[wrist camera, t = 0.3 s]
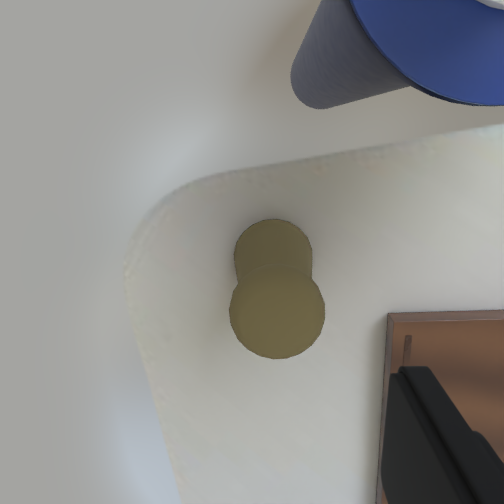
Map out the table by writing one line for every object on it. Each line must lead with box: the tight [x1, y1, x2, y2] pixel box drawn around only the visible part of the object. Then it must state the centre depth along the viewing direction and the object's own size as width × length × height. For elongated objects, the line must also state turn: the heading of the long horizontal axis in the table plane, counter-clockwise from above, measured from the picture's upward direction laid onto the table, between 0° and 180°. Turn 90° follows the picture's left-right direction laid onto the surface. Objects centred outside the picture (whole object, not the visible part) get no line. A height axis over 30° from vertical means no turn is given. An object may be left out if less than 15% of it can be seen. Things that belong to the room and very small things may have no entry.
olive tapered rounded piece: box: [229, 219, 325, 359], centre depth 25 cm, size 6×6×11 cm
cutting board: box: [376, 310, 504, 504], centre depth 34 cm, size 22×14×2 cm, turn 3°
